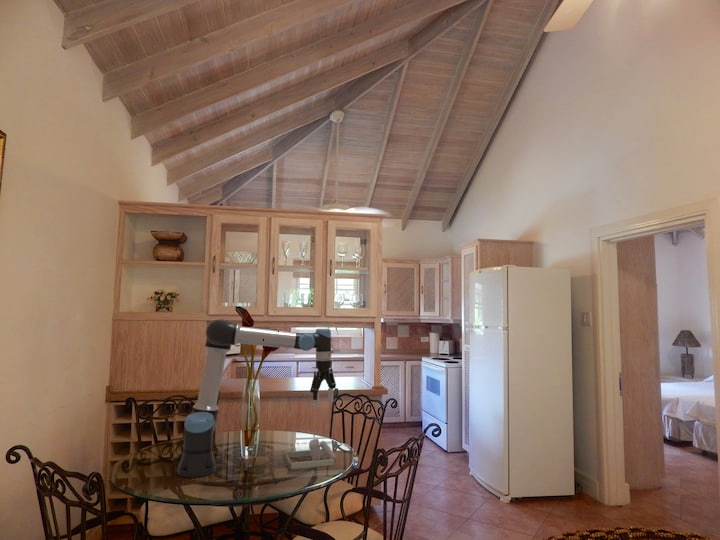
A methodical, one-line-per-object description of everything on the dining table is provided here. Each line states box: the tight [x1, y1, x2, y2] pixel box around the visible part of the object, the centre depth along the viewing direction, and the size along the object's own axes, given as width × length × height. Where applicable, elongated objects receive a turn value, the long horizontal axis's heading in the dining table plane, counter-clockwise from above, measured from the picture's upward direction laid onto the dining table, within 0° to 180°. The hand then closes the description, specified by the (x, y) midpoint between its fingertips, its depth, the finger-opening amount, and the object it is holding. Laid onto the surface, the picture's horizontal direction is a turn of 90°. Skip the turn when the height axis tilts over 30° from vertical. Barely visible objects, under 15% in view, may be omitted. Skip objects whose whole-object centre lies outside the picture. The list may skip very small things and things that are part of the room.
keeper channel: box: [283, 448, 335, 470], centre depth 201 cm, size 20×18×3 cm
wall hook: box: [308, 438, 336, 461], centre depth 204 cm, size 8×10×10 cm
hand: (323, 404), depth 213 cm, fingers open, 13 cm apart
